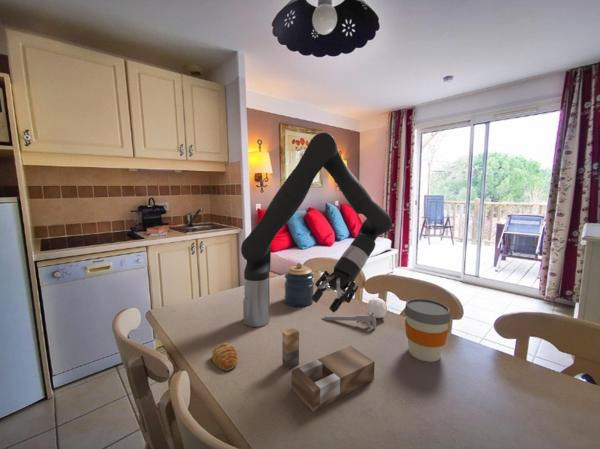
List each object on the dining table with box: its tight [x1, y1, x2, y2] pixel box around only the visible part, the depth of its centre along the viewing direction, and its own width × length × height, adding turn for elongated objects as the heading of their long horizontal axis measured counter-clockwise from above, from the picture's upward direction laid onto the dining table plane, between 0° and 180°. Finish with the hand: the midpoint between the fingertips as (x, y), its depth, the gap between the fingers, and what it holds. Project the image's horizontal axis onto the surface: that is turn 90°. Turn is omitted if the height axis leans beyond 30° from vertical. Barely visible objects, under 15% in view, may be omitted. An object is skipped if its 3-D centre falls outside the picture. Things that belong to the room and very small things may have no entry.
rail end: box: [281, 327, 300, 370], centre depth 79 cm, size 4×2×10 cm, turn 124°
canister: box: [284, 262, 315, 308], centre depth 124 cm, size 13×13×18 cm
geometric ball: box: [366, 297, 388, 319], centre depth 110 cm, size 8×8×8 cm
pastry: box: [211, 343, 238, 372], centre depth 81 cm, size 9×7×4 cm
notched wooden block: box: [291, 345, 375, 413], centre depth 72 cm, size 20×9×5 cm, turn 124°
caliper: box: [321, 312, 377, 330], centre depth 104 cm, size 20×1×6 cm, turn 67°
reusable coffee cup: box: [404, 298, 451, 363], centre depth 85 cm, size 13×12×15 cm
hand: (322, 305), depth 84 cm, fingers open, 8 cm apart
